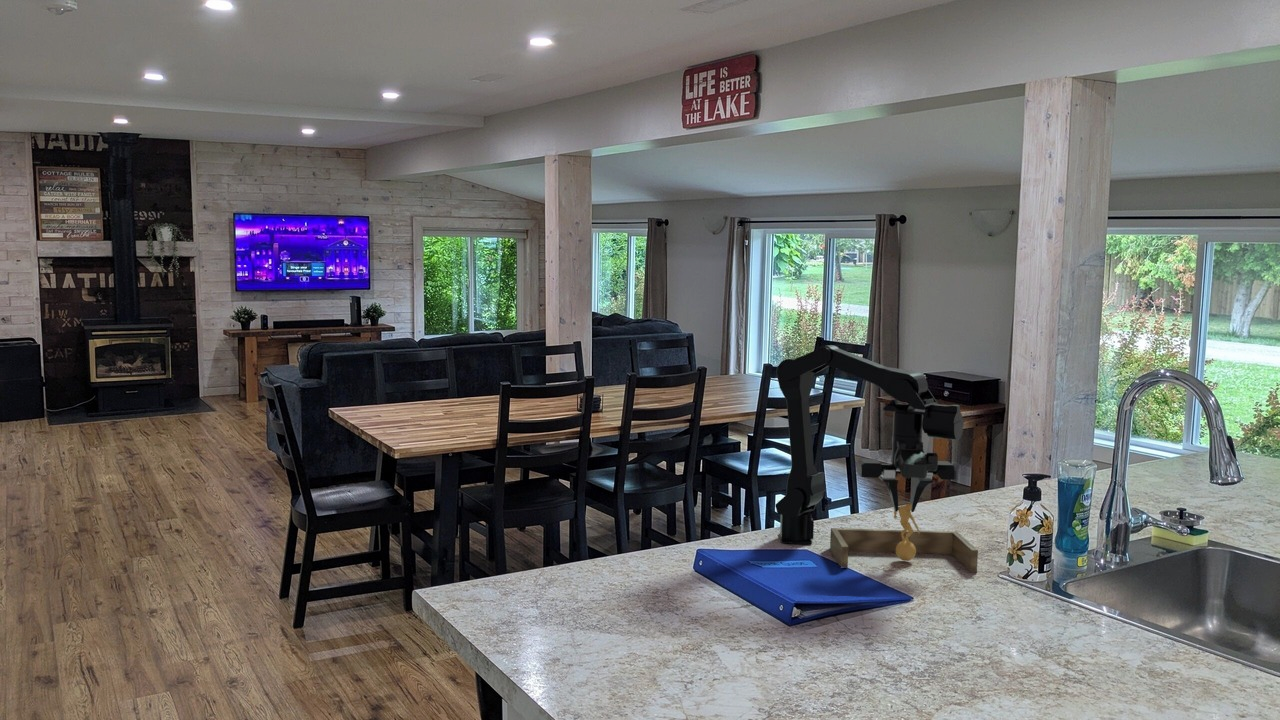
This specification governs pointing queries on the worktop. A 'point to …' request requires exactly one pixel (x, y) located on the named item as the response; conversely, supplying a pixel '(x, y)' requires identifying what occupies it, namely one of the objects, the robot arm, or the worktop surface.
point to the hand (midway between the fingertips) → (904, 511)
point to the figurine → (906, 548)
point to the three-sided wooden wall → (889, 539)
